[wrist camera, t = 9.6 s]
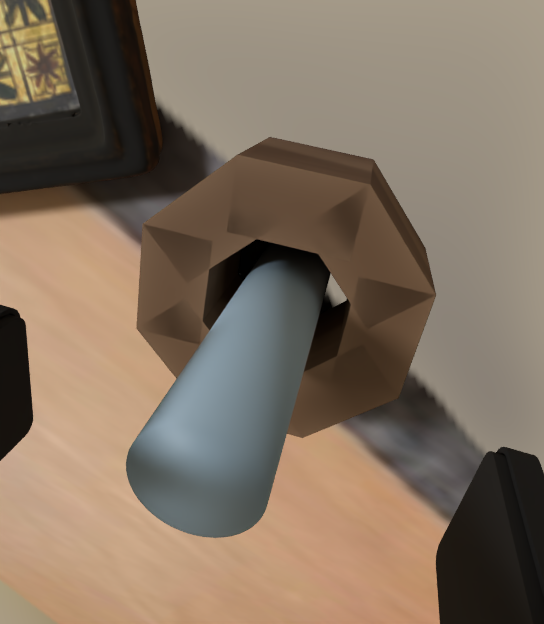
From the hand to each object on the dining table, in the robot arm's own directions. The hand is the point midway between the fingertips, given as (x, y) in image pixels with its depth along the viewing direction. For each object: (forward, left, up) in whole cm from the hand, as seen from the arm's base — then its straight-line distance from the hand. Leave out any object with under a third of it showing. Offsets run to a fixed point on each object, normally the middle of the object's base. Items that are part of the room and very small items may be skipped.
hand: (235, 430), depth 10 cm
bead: (0, +1, -11) cm, 11 cm away
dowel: (0, +1, -11) cm, 11 cm away
